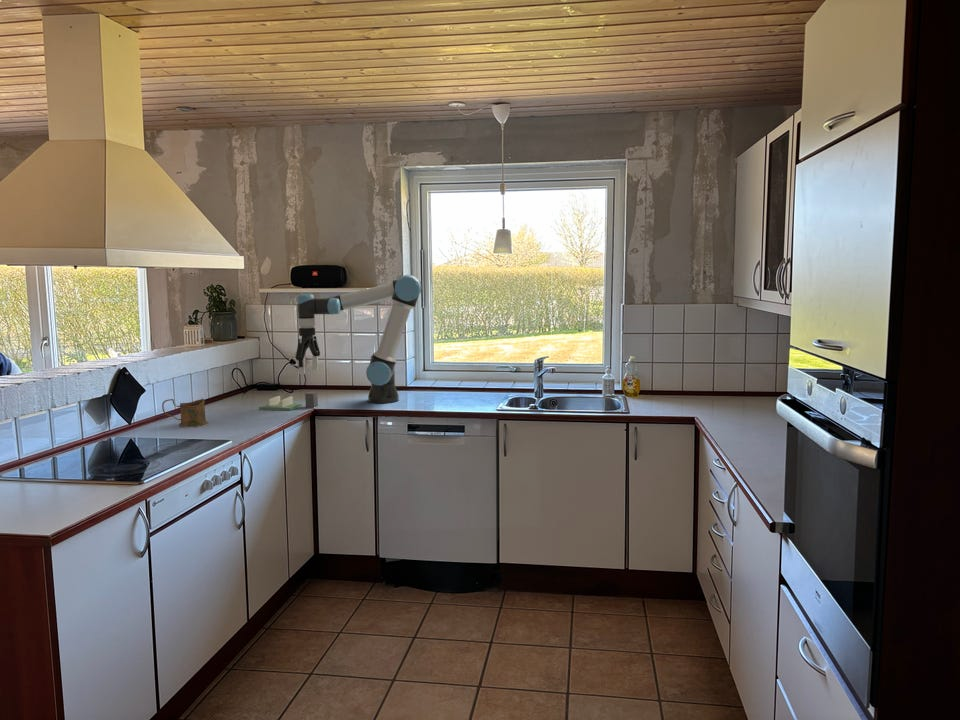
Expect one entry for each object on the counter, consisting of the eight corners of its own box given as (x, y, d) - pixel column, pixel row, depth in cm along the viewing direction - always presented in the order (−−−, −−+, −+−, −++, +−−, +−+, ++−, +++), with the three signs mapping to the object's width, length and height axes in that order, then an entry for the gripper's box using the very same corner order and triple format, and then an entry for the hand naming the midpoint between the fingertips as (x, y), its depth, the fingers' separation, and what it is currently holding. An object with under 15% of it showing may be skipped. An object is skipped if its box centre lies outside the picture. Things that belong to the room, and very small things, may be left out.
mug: (160, 426, 302) (159, 398, 300) (203, 420, 312) (202, 393, 311) (167, 431, 293) (165, 402, 291) (211, 425, 303) (209, 397, 301)
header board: (302, 405, 343) (301, 396, 343) (290, 410, 332) (289, 400, 331) (272, 404, 347) (271, 395, 346) (259, 409, 335) (258, 399, 335)
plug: (317, 406, 342) (317, 392, 341) (314, 408, 338) (313, 393, 337) (309, 406, 343) (309, 391, 342) (305, 407, 339) (305, 393, 338)
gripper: (311, 324, 349) (313, 367, 352) (286, 329, 325) (288, 375, 328) (325, 325, 347) (327, 368, 350) (301, 329, 323) (303, 375, 326)
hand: (308, 371), depth 339 cm, fingers open, 13 cm apart
